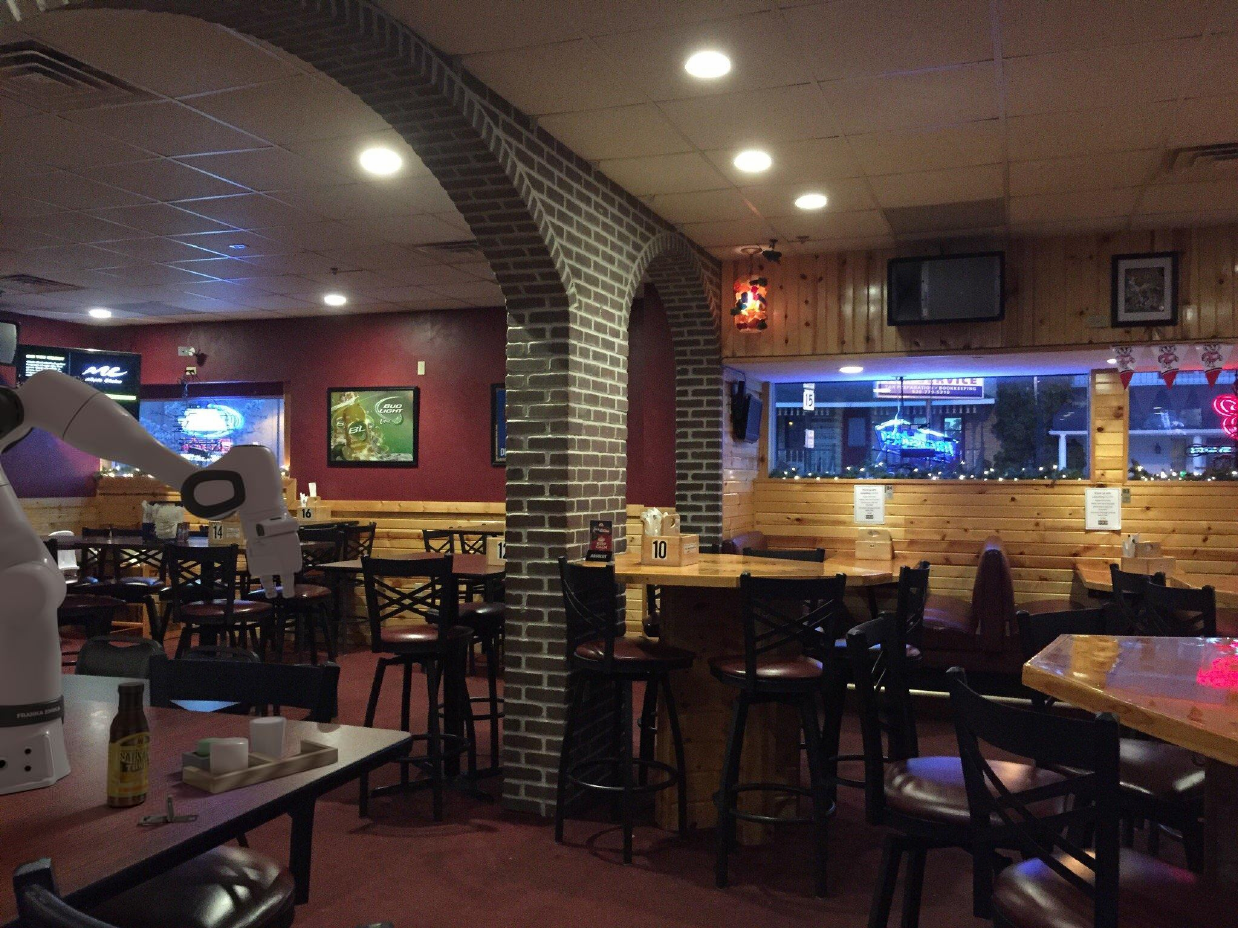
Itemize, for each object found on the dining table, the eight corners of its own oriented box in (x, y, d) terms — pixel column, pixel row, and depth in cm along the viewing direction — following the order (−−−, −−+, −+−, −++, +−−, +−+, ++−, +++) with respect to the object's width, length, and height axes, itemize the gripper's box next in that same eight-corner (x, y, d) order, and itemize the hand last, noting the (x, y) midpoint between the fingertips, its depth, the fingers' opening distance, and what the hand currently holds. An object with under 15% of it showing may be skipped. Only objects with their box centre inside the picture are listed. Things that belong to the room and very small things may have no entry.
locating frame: (214, 793, 172) (214, 779, 172) (182, 781, 179) (182, 767, 179) (337, 761, 191) (337, 748, 191) (304, 751, 198) (304, 739, 198)
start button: (204, 760, 183) (204, 745, 183) (192, 756, 186) (192, 741, 186) (227, 755, 187) (227, 740, 187) (214, 751, 190) (214, 736, 190)
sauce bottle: (120, 811, 163) (121, 689, 163) (98, 804, 166) (99, 685, 167) (157, 800, 169) (157, 682, 169) (135, 794, 172) (136, 678, 172)
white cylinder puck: (221, 788, 175) (221, 748, 175) (203, 781, 179) (203, 742, 179) (255, 780, 180) (255, 741, 180) (236, 773, 184) (236, 735, 184)
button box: (201, 777, 182) (201, 759, 182) (182, 770, 186) (182, 752, 186) (237, 768, 187) (237, 751, 187) (217, 761, 191) (217, 744, 191)
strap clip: (137, 828, 156) (137, 801, 156) (141, 821, 159) (141, 794, 159) (196, 823, 158) (196, 796, 158) (199, 816, 161) (199, 790, 161)
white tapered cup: (274, 761, 192) (274, 724, 192) (241, 759, 193) (242, 723, 193) (292, 751, 198) (292, 716, 199) (261, 749, 200) (261, 714, 200)
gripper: (233, 532, 198) (246, 601, 198) (268, 526, 182) (282, 601, 182) (264, 526, 201) (277, 593, 202) (301, 520, 185) (315, 592, 186)
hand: (280, 597), depth 192 cm, fingers open, 8 cm apart
